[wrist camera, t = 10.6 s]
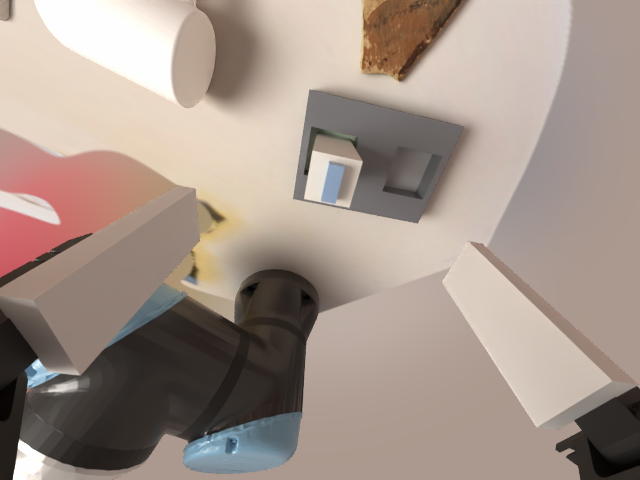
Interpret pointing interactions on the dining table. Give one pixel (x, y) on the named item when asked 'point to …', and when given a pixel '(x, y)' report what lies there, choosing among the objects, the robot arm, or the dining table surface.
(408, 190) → the panel
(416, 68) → the dining table surface
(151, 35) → the mug
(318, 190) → the plug
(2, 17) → the handheld gaming console
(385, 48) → the shard
